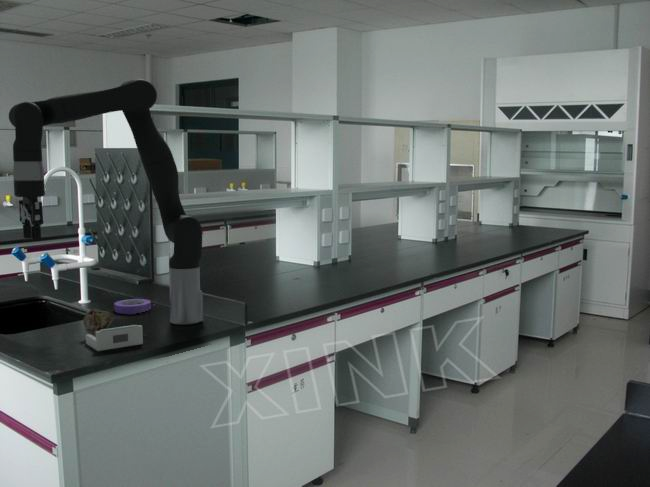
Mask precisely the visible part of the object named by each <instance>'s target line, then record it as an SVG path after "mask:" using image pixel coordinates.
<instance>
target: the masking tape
mask: <svg viewBox="0 0 650 487" xmlns="http://www.w3.org/2000/svg"><path fill="white" fill-rule="evenodd" d="M151 303H152V302H151V300H150V299H145V298H133V299H132V298H131V299H124V300H118V301H115V302H114V304H113V306H114V308H113V310H114V312H115V313H117V314H122V315H137V314H136V313H140V314H142V313H141V312H145V311H148V310H150V309H151V310H152V304H151ZM151 310H150V311H151ZM148 312H149V311H148ZM145 313H146V312H145Z"/></svg>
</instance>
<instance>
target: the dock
mask: <svg viewBox="0 0 650 487" xmlns="http://www.w3.org/2000/svg"><path fill="white" fill-rule="evenodd" d="M143 334H144V333H143V325H141V324H140V325H139V324H138V325H137V324H130V325H125V326H117V327H112V328H109V327H108V328H107V329H102V330H100V331H96V336H94V335H93V334H91V333H87V334H85V344H86V345H88V346H89V347H90V348H92V349H93V350H95V351H96V352H101V351H107V350H111V349H112V350H114V349H119V348H125V347H132V346H137V345H143V344H144V340H143V338H144V337H143V336H144V335H143Z"/></svg>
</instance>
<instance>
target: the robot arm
mask: <svg viewBox="0 0 650 487" xmlns="http://www.w3.org/2000/svg"><path fill="white" fill-rule="evenodd" d="M157 98H158V94H157V90H156V87H155V86H154V85H153V84H152V83H151V82H150V81H148V80H146V79H143V78H134V79H131V80H127V81H123V82H122V83H121V84H120V85H119V86H117V87H115V86H114V87H113V88H112V87H111V88H108V89H103V90H102V89H101V90H97V91H96V90H95V91H89V92H79V93H72V94H66V95H60V96H54V97H51V98H48V99H45V100H36V101H24V102H20V103H17V104H15V105H13V106H12V107H11V108H10V110H9V112H8V120H9V123H10V125H12V126H13V127H14V128H15V130H14V132H15V139H14V141H13V145H12V156H13V158H12V159H13V166H12V167H13V169H12V176H13V177H12V178H13V192H14V193H13V194H14V197H16V198H22V199H19V201H18V205H19V207H18V208H19V222H21V223H20V224H21V225H22V232H23V234H22V235H23V236H22V237H23V239H31V241H32V242H39V241H40V242H41V240H42V230H41V227H42V225H44V213H43V203H42V200H41V201H39V200H38V198H40V197H41V198H42V197H45V195H46V186H45V185H46V184H45V171H44V170H45V169H44V165H43V164H44V163H43V153H42V152H43V150H42V141H43V140H42V139H43V131H44V127H45V126H48V125H53V124H55V125H56V124H64V123H65V124H66V123H69V122H74V121H79V120H83V119H88V118H92V117H95V116H99V115H103V114H108V113H114V112H119V111H122V113H123V115H124V118H125V119H126V121H127V123H128V126H129V128H130V131H131V134H132V136H133V140H134V141H135V142H134V143H135V145H136V149H137V151H138V154H139V157H140V160H141V161H140V162H141V163H142V164H141V165H142V166H143V169H144V173H145V175H146V177H147V180H148V183H149V185H150V188H151V191H152V193H153V196H154V198H155V201H156V203H157V206H158V210H159V215H160V219H161V223H162V227H163V230H164V234H165V237H166V238H167V239H168V241H170V242H171V243H173V254H172V256H171V257H170V258H169V260H168V267H169V268H168V269H169V273H168V274H169V277H168V278H169V312H170V313H169V317H170V318H169V319H170V323H171V324H174V325H193V324H197V323H200V322H203V321H204V305H203V304H204V302H203V301H204V297H203V295H204V293H203V291H202V290H201V283H200V282H201V278H200V277H201V275H200V273H201V272H200V261H201V259H202V255H203V229H202V225H201V222H200V221H199V219H197V218H196V217H194V216H190V215H187V214H186V212H185V210H184V206H183V204H182V201H181V198H180V193H179V182H180V181H179V171H178V167H177V164H176V161H175V158H174V156H173V153H172V150H171V148H170V146H169V144H168V143H167V142H166V141H165V139H164V137H163V136H162V133H160V132H159V130H158V129H157V127H156V125H155V122H154V120H153V117H152V113H151V110H150V109H151V108H152V107H154V105H155V104H156V101H157Z"/></svg>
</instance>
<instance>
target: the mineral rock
mask: <svg viewBox="0 0 650 487" xmlns="http://www.w3.org/2000/svg"><path fill="white" fill-rule="evenodd" d="M114 317H115V315H114V314H113V313H112V312H110V311H106V310H104V311H103V310H99V309H97V308H95V307H93V308H91V309H88V310H87V311H86V312H85V316H84V318H83V327H85V331H86V333H88V334H91V335H93V336H94V337H96V331H100V330H102V329H109V327H110V326H111V324H112V322H113V321H114Z"/></svg>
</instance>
